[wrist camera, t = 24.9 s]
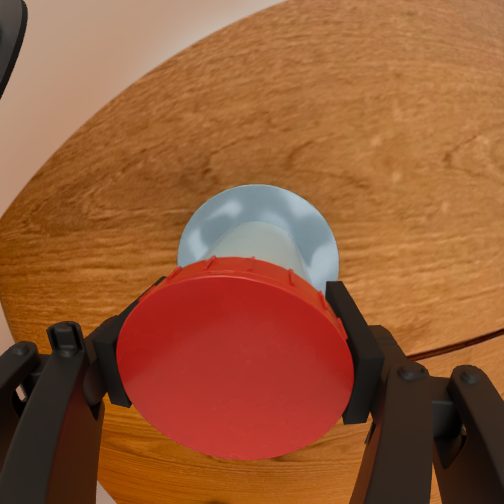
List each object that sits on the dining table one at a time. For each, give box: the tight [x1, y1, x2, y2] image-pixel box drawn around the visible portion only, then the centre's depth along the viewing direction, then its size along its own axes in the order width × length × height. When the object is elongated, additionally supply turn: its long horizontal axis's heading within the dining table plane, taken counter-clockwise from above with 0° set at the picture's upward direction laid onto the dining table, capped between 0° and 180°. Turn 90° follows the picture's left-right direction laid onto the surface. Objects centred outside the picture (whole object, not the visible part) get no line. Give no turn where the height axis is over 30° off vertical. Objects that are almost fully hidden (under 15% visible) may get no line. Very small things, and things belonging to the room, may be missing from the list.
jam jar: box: [197, 221, 313, 286], centre depth 14 cm, size 6×6×12 cm
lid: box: [116, 255, 354, 460], centre depth 9 cm, size 7×7×2 cm
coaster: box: [177, 184, 339, 297], centre depth 20 cm, size 11×11×1 cm
